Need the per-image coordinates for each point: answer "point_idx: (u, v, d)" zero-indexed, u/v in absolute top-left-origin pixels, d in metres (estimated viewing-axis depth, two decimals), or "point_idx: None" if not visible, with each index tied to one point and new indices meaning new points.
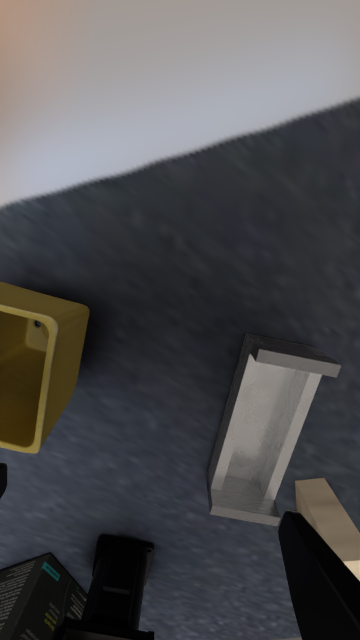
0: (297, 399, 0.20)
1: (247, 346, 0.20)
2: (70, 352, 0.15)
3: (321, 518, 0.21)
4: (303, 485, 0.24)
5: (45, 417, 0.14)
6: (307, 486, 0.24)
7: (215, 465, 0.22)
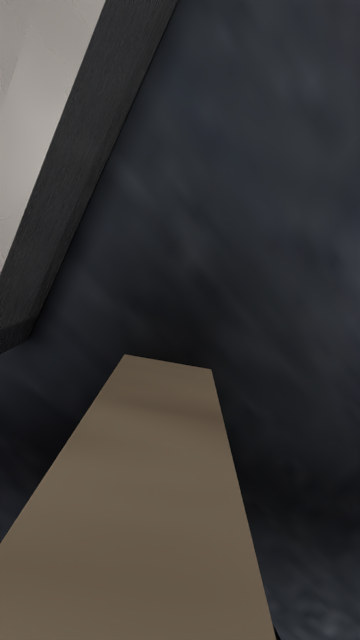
0: None
1: None
2: None
3: (106, 440, 0.04)
4: (137, 365, 0.07)
5: None
6: (147, 368, 0.07)
7: None
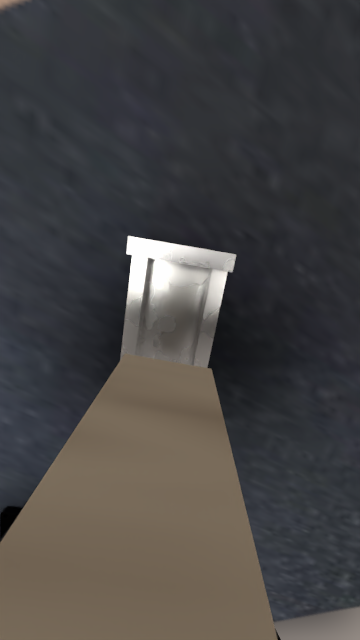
0: (202, 318, 0.16)
1: None
2: None
3: (107, 439, 0.04)
4: (138, 364, 0.07)
5: None
6: (148, 368, 0.07)
7: None
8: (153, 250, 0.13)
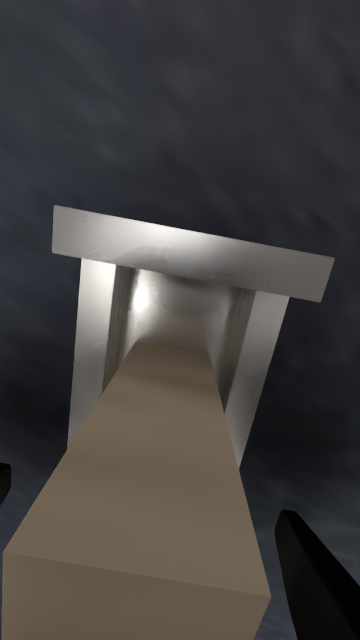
0: (228, 384, 0.08)
1: None
2: None
3: (128, 399, 0.06)
4: (147, 349, 0.09)
5: None
6: (155, 353, 0.09)
7: None
8: (121, 244, 0.05)
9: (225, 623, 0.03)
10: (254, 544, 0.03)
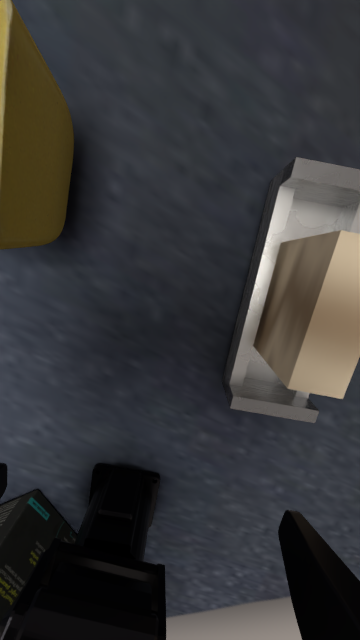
0: None
1: (274, 187, 0.16)
2: (43, 134, 0.11)
3: None
4: None
5: (3, 189, 0.10)
6: None
7: (234, 355, 0.18)
8: (319, 173, 0.13)
9: None
10: None
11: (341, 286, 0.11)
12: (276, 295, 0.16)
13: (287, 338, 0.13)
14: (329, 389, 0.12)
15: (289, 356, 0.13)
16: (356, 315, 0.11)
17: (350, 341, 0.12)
